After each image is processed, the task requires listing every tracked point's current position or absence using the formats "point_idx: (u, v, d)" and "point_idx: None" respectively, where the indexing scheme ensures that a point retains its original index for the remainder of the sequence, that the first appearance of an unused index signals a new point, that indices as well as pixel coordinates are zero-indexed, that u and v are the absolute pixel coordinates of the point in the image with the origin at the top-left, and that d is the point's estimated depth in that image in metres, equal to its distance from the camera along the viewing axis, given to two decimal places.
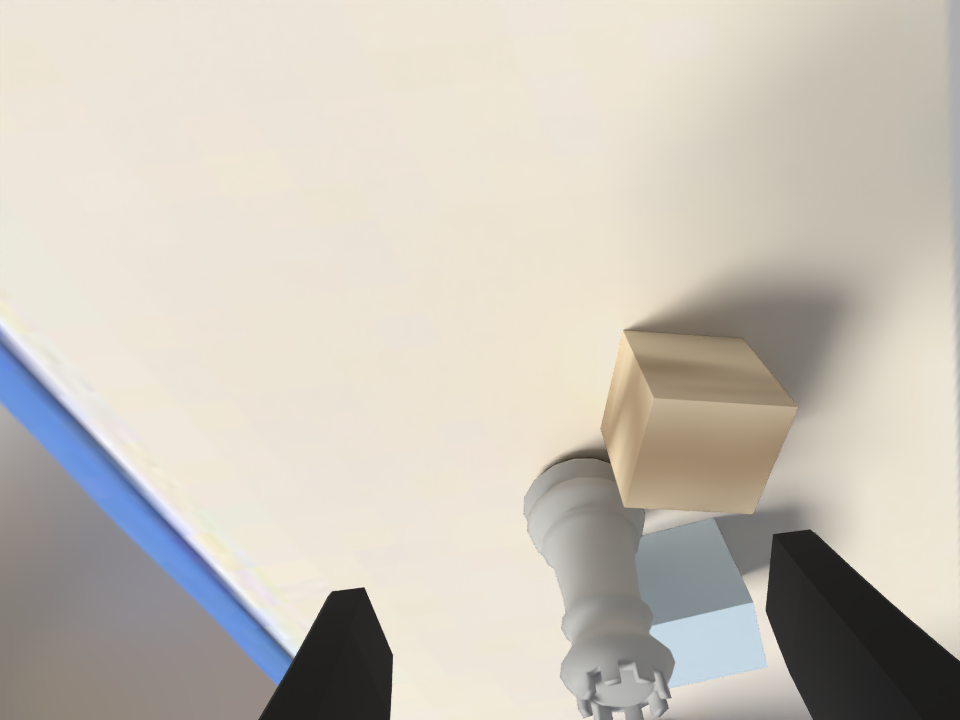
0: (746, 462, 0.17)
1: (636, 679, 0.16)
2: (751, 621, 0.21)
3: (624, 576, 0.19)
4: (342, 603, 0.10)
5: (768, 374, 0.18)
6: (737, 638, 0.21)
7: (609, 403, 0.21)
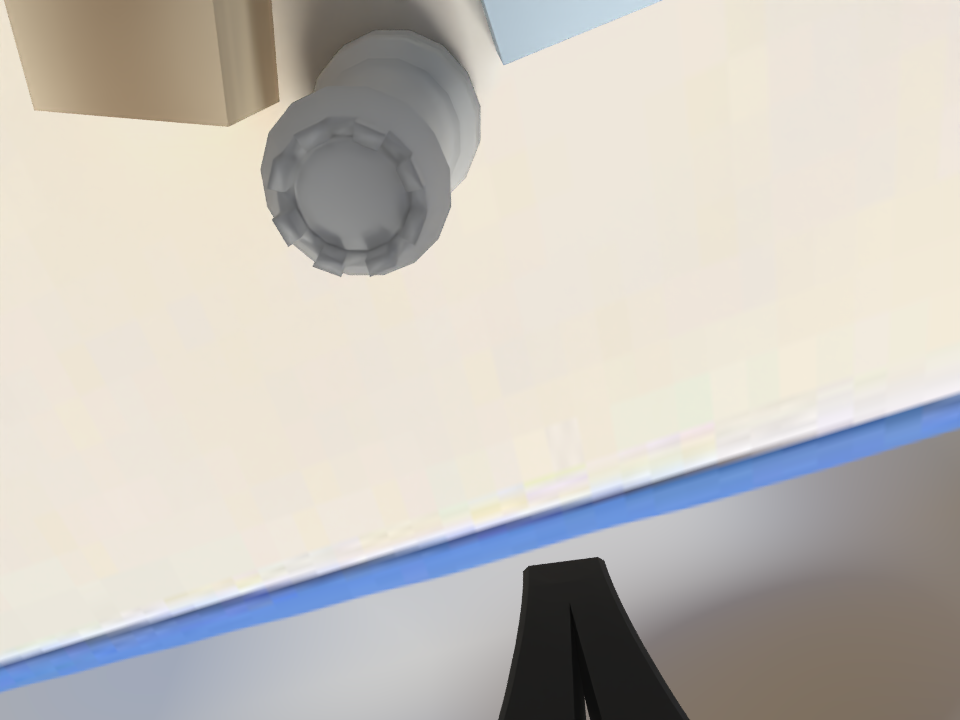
0: None
1: (281, 190, 0.09)
2: None
3: None
4: (548, 577, 0.10)
5: None
6: None
7: None
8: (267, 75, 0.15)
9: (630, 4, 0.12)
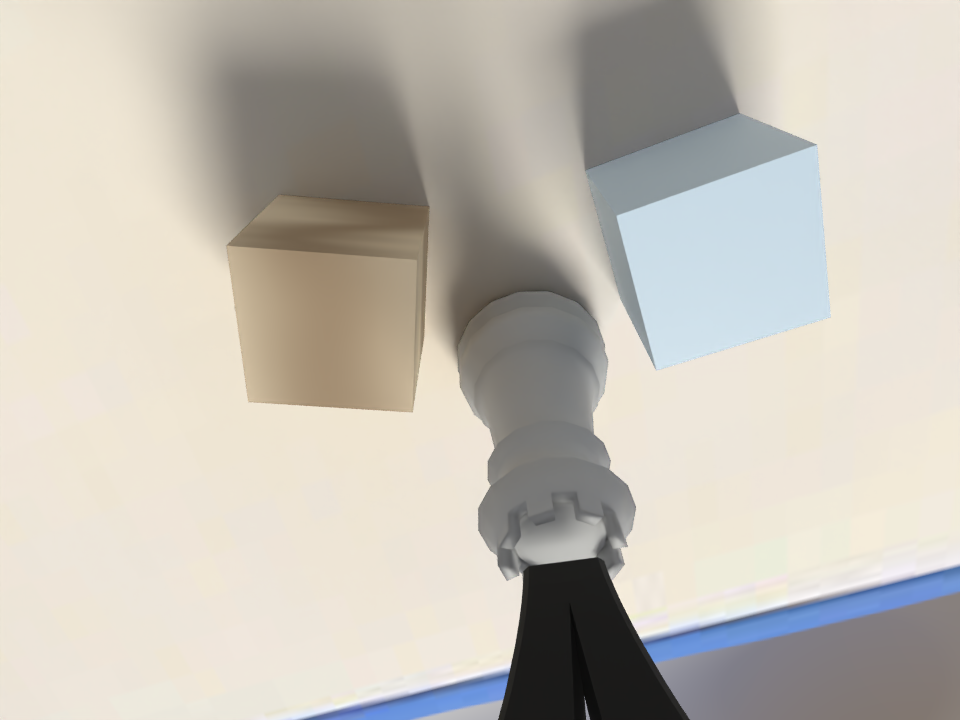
0: (324, 289, 0.13)
1: (509, 546, 0.11)
2: (668, 206, 0.12)
3: (502, 426, 0.14)
4: (548, 577, 0.10)
5: None
6: (712, 220, 0.12)
7: None
8: (422, 328, 0.17)
9: (769, 329, 0.14)
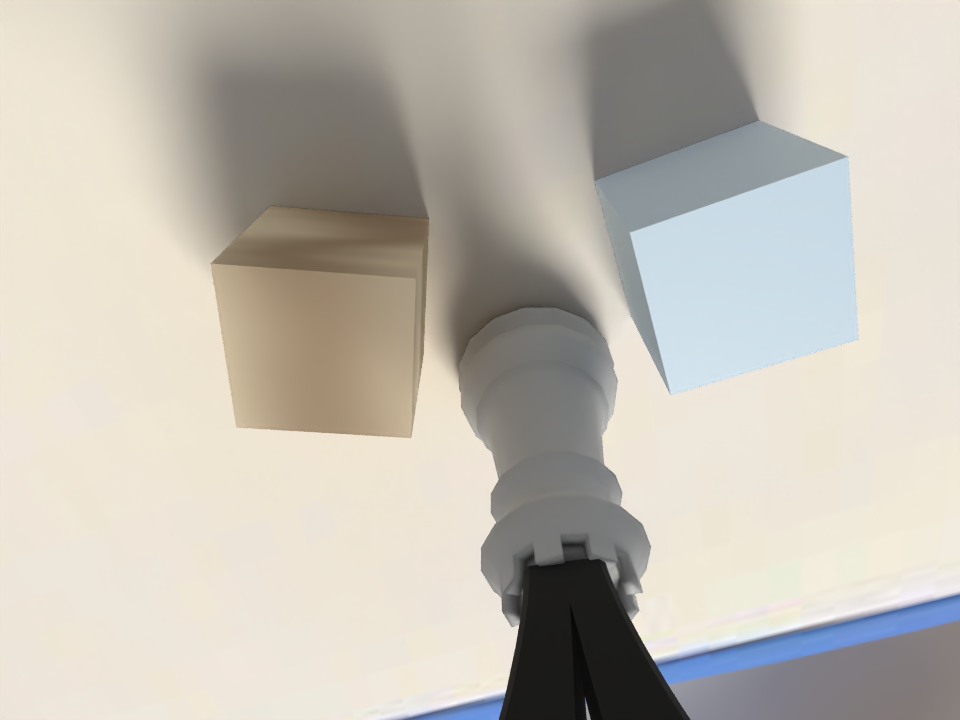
0: (316, 309, 0.12)
1: (514, 592, 0.11)
2: (686, 223, 0.11)
3: (506, 454, 0.13)
4: (548, 577, 0.10)
5: None
6: (733, 237, 0.11)
7: None
8: (422, 346, 0.16)
9: (792, 352, 0.13)
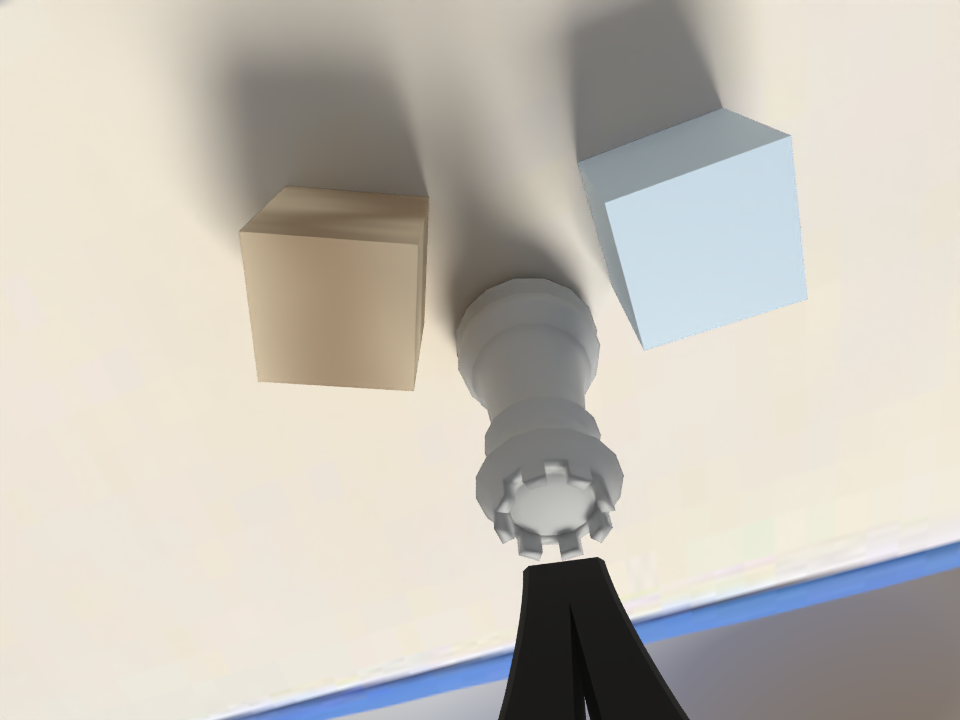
0: (330, 272, 0.14)
1: (504, 510, 0.12)
2: (653, 194, 0.13)
3: (498, 403, 0.15)
4: (548, 577, 0.10)
5: None
6: (694, 206, 0.13)
7: None
8: (422, 314, 0.18)
9: (750, 311, 0.15)
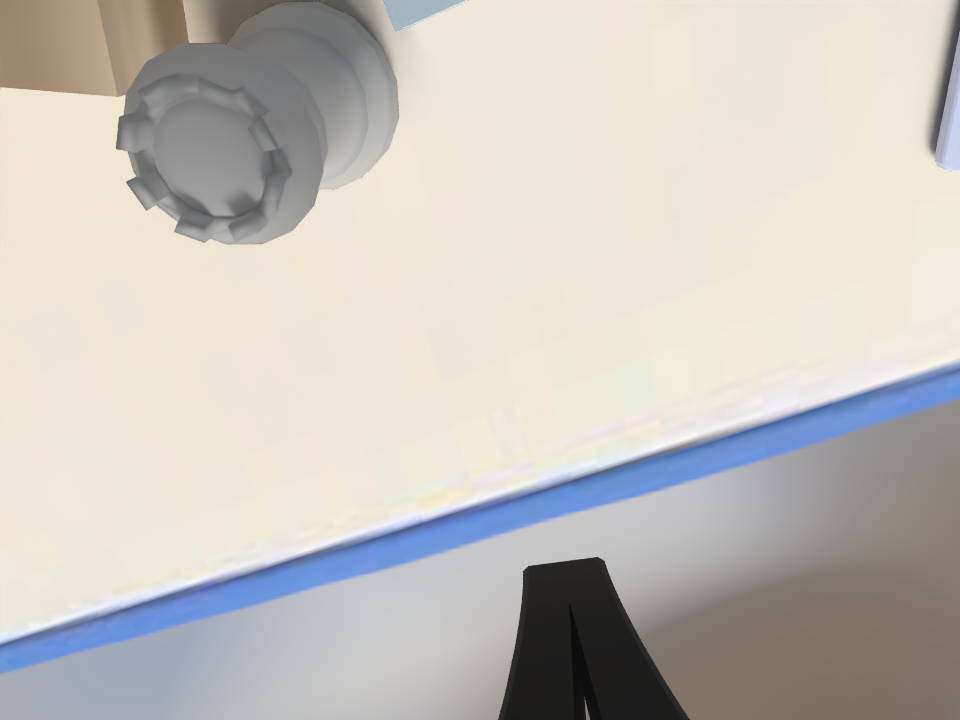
0: None
1: (132, 151, 0.09)
2: None
3: None
4: (548, 577, 0.10)
5: None
6: None
7: None
8: None
9: None
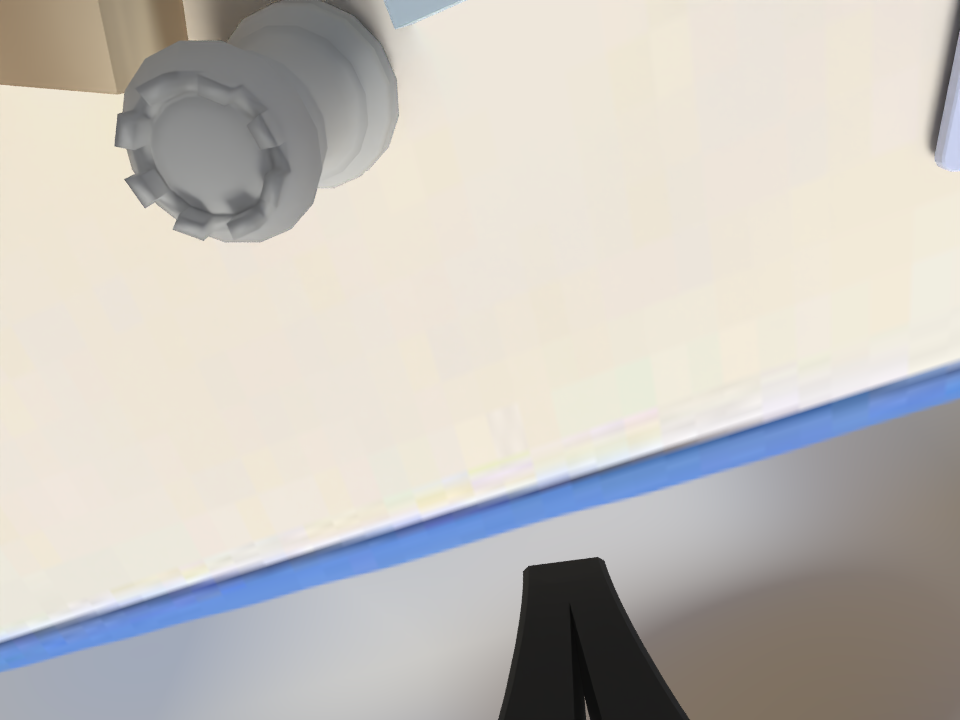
0: None
1: (131, 148, 0.09)
2: None
3: None
4: (548, 577, 0.10)
5: None
6: None
7: None
8: None
9: None
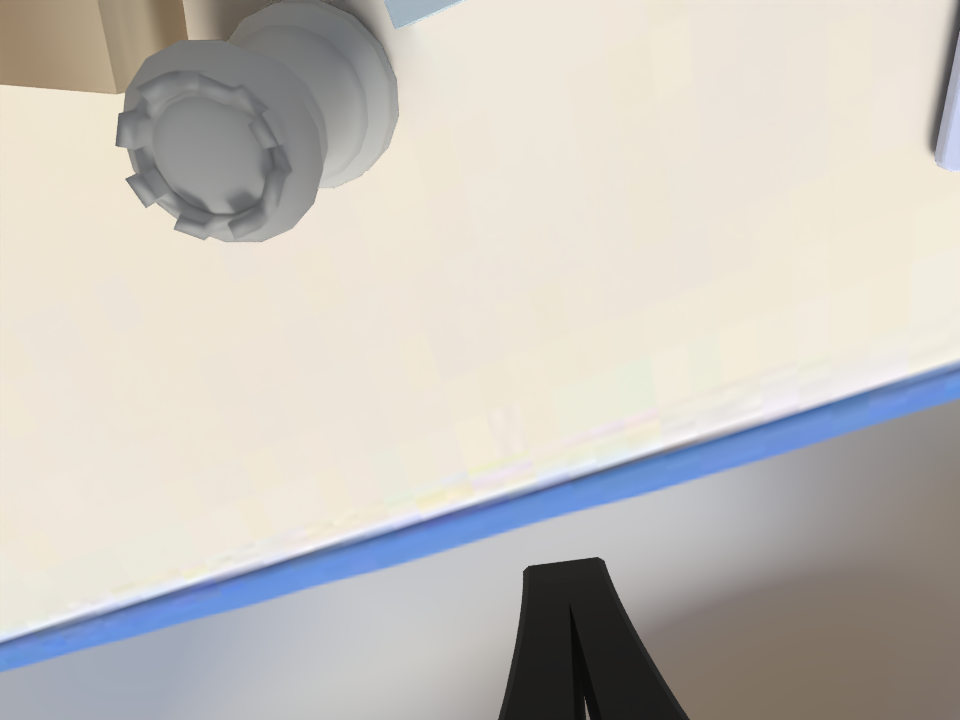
0: None
1: (132, 147, 0.09)
2: None
3: None
4: (548, 577, 0.10)
5: None
6: None
7: None
8: None
9: None
